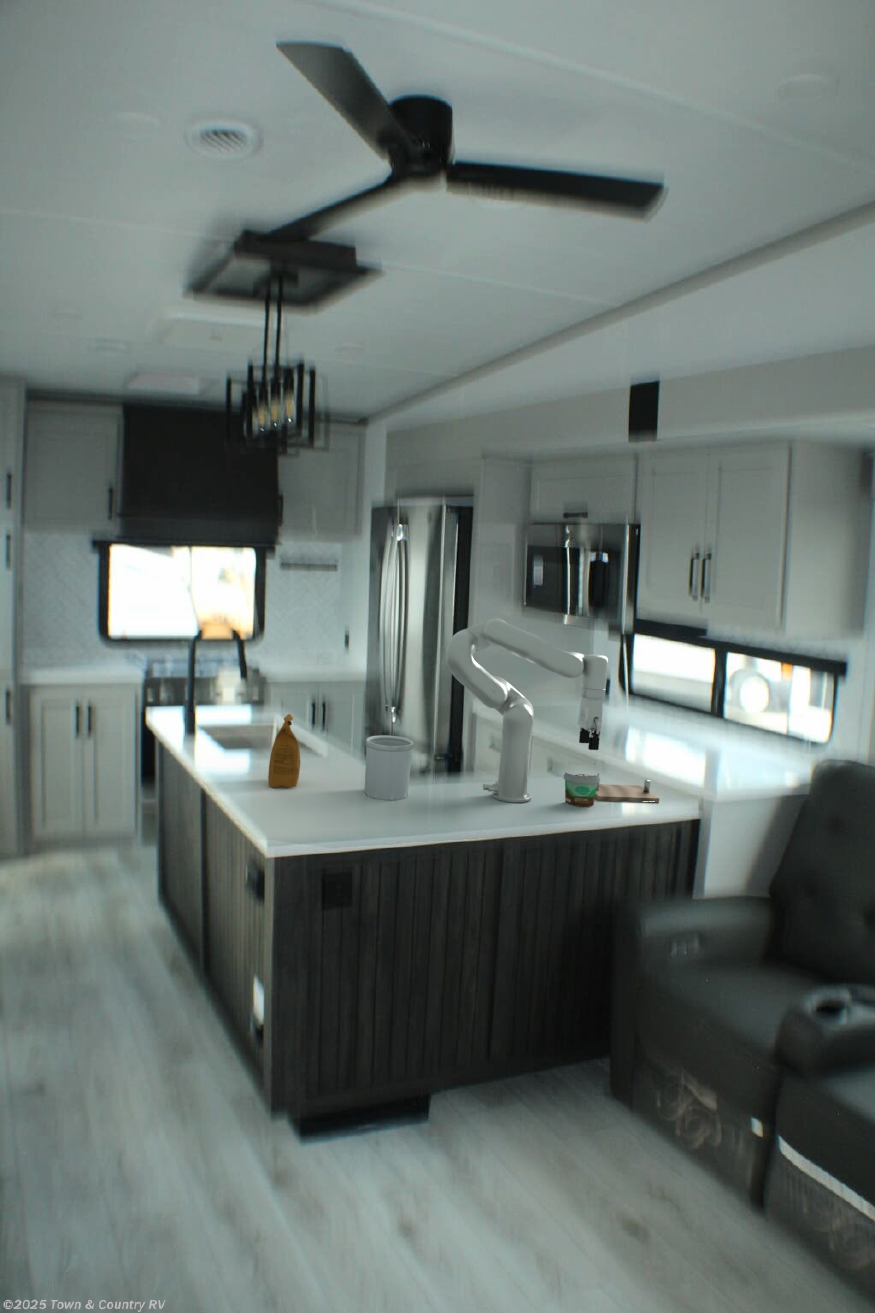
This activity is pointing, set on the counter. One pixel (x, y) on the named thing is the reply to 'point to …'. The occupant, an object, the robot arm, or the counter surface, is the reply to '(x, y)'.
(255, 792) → the counter surface
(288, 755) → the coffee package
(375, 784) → the utensil holder
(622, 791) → the board
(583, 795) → the food container
